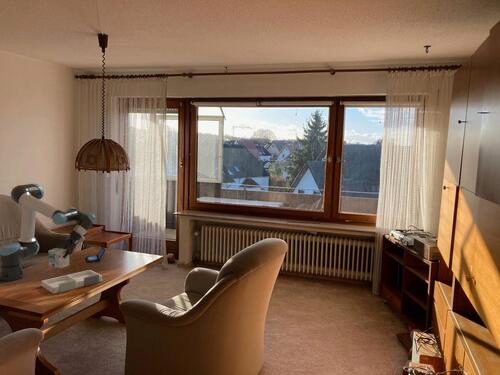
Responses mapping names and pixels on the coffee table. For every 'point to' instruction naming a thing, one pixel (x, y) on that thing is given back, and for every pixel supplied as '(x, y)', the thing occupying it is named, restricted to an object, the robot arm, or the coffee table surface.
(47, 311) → the coffee table surface
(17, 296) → the coffee table surface
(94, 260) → the handheld game console
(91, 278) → the tagged dock
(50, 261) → the light bulb box
